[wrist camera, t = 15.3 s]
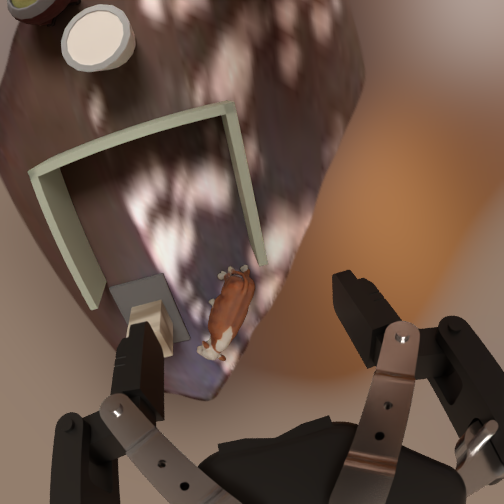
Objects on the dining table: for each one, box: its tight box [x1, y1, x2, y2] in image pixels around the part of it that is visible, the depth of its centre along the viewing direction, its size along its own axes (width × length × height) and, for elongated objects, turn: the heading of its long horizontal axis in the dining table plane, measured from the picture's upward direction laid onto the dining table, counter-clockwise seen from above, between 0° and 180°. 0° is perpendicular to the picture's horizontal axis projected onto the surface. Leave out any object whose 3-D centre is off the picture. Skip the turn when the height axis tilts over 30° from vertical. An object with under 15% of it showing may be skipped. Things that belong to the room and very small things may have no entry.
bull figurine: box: [197, 265, 255, 361], centre depth 41 cm, size 4×13×8 cm, turn 152°
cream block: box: [126, 300, 173, 357], centre depth 41 cm, size 5×5×6 cm
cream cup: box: [61, 4, 136, 72], centre depth 24 cm, size 7×7×7 cm
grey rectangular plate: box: [109, 273, 190, 343], centre depth 44 cm, size 12×8×1 cm, turn 11°
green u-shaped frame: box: [28, 100, 268, 310], centre depth 34 cm, size 18×22×6 cm
